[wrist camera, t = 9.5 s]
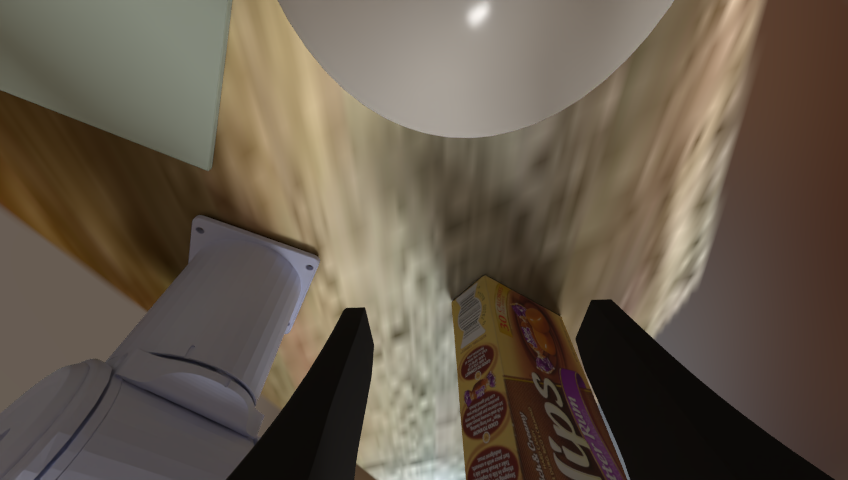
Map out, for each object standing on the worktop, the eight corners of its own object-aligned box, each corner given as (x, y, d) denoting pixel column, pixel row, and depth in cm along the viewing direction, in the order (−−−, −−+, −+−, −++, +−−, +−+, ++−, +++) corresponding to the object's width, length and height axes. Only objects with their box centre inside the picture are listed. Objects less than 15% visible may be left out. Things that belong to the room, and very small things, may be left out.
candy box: (446, 303, 26) (467, 580, 14) (482, 271, 24) (545, 567, 12) (525, 341, 29) (598, 593, 17) (563, 316, 27) (678, 584, 15)
